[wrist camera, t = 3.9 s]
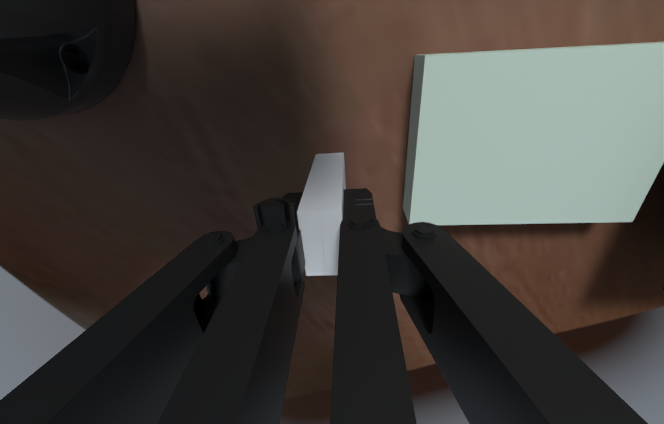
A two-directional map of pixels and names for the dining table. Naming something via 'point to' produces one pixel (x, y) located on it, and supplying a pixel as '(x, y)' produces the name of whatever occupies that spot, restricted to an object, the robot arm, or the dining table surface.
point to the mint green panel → (535, 135)
